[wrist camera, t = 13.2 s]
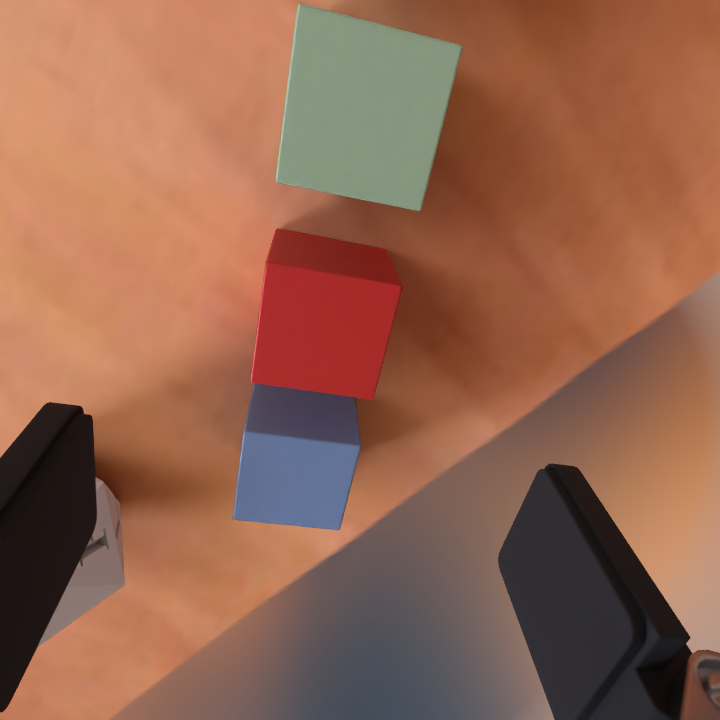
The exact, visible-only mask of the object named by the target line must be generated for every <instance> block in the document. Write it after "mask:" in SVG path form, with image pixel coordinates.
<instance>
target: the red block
mask: <svg viewBox="0 0 720 720" xmlns="http://www.w3.org/2000/svg"><path fill="white" fill-rule="evenodd" d="M401 290H402V284H401V282H400V280H399V277H398V275H397V273H396V270H395V268H394V265H393V263H392V261H391V258H390V256H389V254H388V251H387V250H386V249H383V248H378V247H372V246H367V245H362V244H357V243H351V242H346V241H341V240H336V239H330V238H325V237H320V236H315V235H309V234H304V233H299V232H293V231H288V230H283V229H276V231H275V234H274V238H273V241H272V244H271V247H270V250H269V253H268V257H267V260H266V264H265V271H264V279H263V287H262V294H261V302H260V310H259V318H258V325H257V333H256V341H255V348H254V356H253V364H252V372H251V379H250V381H251V382H252V383H258V384H265V385H272V386H279V387H286V388H293V389H300V390H307V391H314V392H321V393H328V394H335V395H342V396H349V397H356V398H364V399H371V400H373V399H374V395H375V392H376V388H377V384H378V380H379V376H380V372H381V368H382V364H383V360H384V357H385V353H386V349H387V345H388V341H389V337H390V333H391V329H392V325H393V322H394V318H395V314H396V310H397V306H398V302H399V298H400V294H401Z"/></svg>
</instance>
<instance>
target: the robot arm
mask: <svg viewBox="0 0 720 720" xmlns="http://www.w3.org/2000/svg"><path fill="white" fill-rule="evenodd" d="M96 521H97V500H96V478H95V457H94V435H93V419H92V416H91V415H87V414H84V412H83V409H82V407H81V406H76V405H68V404H60V403H52V402H49V403H46V404H45V405H44V406H43V407H42V408H41V410H40V411H39V412H38V413H37V414H36V416H35V417H34V418H33V419H32V420H31V422H30V423H29V424H28V425H27V426H26V428H25V429H24V430H23V431H22V433H21V434H20V435H19V436H18V437H17V439H16V440H15V441H14V442H13V443H12V445H11V446H10V447H9V448H8V449H7V451H6V452H5V453H4V454H3V455H2V457H1V458H0V712H3V711H4V710H5V709H6V708H7V706H8V705H9V703H10V701H11V700H12V698H13V695H14V693H15V691H16V689H17V687H18V685H19V683H20V681H21V679H22V677H23V675H24V673H25V671H26V669H27V667H28V665H29V663H30V661H31V659H32V657H33V655H34V653H35V651H36V649H37V647H38V645H39V643H40V641H41V639H42V636H43V634H44V632H45V630H46V628H47V626H48V624H49V622H50V620H51V618H52V616H53V614H54V612H55V610H56V608H57V606H58V604H59V602H60V600H61V598H62V596H63V594H64V592H65V590H66V588H67V586H68V584H69V582H70V579H71V577H72V575H73V573H74V571H75V569H76V567H77V565H78V563H79V561H80V559H81V557H82V555H83V553H84V551H85V549H86V547H87V545H88V543H89V541H90V539H91V537H92V535H93V532H94V529H95V526H96ZM498 562H499V568H500V572H501V574H502V577H503V580H504V582H505V585H506V588H507V591H508V594H509V596H510V599H511V602H512V604H513V607H514V610H515V612H516V615H517V618H518V621H519V623H520V626H521V629H522V631H523V634H524V637H525V640H526V642H527V645H528V648H529V651H530V653H531V656H532V659H533V662H534V664H535V667H536V670H537V673H538V675H539V678H540V681H541V683H542V686H543V689H544V692H545V694H546V697H547V700H548V702H549V705H550V708H551V711H552V713H553V716H554V719H555V720H720V653H718V652H714V651H710V650H698V651H696V652H694V653H693V654H692V652H691V651H690V649H689V648H688V646H687V645H686V643H687V642H688V640H689V639H690V636H689V635H688V633H687V632H686V630H685V629H684V627H683V626H682V624H681V623H680V621H679V620H678V618H677V617H676V615H675V613H674V612H673V611H672V609H671V607H670V606H669V604H668V603H667V601H666V600H665V598H664V597H663V595H662V594H661V592H660V591H659V589H658V588H657V586H656V585H655V583H654V582H653V580H652V579H651V577H650V576H649V574H648V573H647V571H646V570H645V568H644V567H643V565H642V564H641V562H640V561H639V559H638V558H637V556H636V555H635V553H634V552H633V550H632V548H631V547H630V545H629V544H628V543H627V541H626V539H625V538H624V536H623V535H622V533H621V532H620V530H619V529H618V527H617V526H616V524H615V523H614V522H613V520H612V518H611V517H610V515H609V514H608V512H607V511H606V510H605V508H604V506H603V505H602V503H601V502H600V500H599V499H598V497H597V496H596V494H595V493H594V491H593V490H592V488H591V487H590V485H589V484H588V482H587V480H586V479H585V478H584V476H583V474H582V473H581V471H580V470H579V469H578V468H577V467H574V466H567V465H559V464H548V465H547V466H546V467H545V469H540V470H539V471H538V472H537V474H536V476H535V478H534V480H533V483H532V485H531V487H530V489H529V491H528V493H527V495H526V497H525V499H524V501H523V504H522V506H521V508H520V510H519V512H518V514H517V516H516V518H515V520H514V523H513V525H512V527H511V529H510V531H509V533H508V535H507V537H506V539H505V541H504V544H503V546H502V548H501V550H500V553H499V557H498Z"/></svg>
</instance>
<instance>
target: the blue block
mask: <svg viewBox="0 0 720 720" xmlns="http://www.w3.org/2000/svg"><path fill="white" fill-rule="evenodd" d="M360 449H361V441H360V432H359V424H358V416H357V407H356V399H355V397H349V396H342V395H335V394H328V393H321V392H314V391H307V390H300V389H293V388H286V387H279V386H272V385H265V384H258V383H254V387H253V391H252V396H251V400H250V405H249V409H248V414H247V419H246V423H245V428H244V432H243V440H242V448H241V456H240V464H239V472H238V480H237V487H236V495H235V503H234V511H233V519H234V520H241V521H251V522H262V523H272V524H282V525H292V526H302V527H312V528H322V529H333V530H340V527H341V523H342V520H343V516H344V512H345V508H346V504H347V500H348V496H349V492H350V488H351V484H352V480H353V476H354V473H355V469H356V465H357V461H358V457H359V453H360Z"/></svg>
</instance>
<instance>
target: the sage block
mask: <svg viewBox="0 0 720 720" xmlns="http://www.w3.org/2000/svg"><path fill="white" fill-rule="evenodd" d="M462 49H463V48H462V45H460V44H456V43H453V42H449V41H445V40H441V39H437V38H433V37H429V36H425V35H422V34H418V33H414V32H410V31H406V30H402V29H398V28H394V27H390V26H387V25H383V24H379V23H375V22H371V21H367V20H363V19H359V18H356V17H352V16H348V15H344V14H340V13H336V12H332V11H328V10H324V9H321V8H317V7H313V6H309V5H305V4H298V6H297V14H296V22H295V30H294V38H293V46H292V54H291V62H290V69H289V77H288V85H287V93H286V101H285V109H284V117H283V124H282V132H281V140H280V148H279V156H278V164H277V172H276V182H277V183H281V184H286V185H291V186H296V187H301V188H306V189H311V190H316V191H321V192H326V193H331V194H336V195H341V196H346V197H351V198H356V199H361V200H366V201H371V202H376V203H380V204H385V205H390V206H395V207H400V208H405V209H410V210H415V211H421V209H422V206H423V202H424V198H425V194H426V190H427V186H428V182H429V178H430V174H431V170H432V166H433V162H434V159H435V155H436V151H437V147H438V143H439V139H440V135H441V131H442V127H443V123H444V119H445V115H446V111H447V108H448V104H449V100H450V96H451V92H452V88H453V84H454V80H455V76H456V72H457V68H458V64H459V60H460V57H461V53H462Z"/></svg>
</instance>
